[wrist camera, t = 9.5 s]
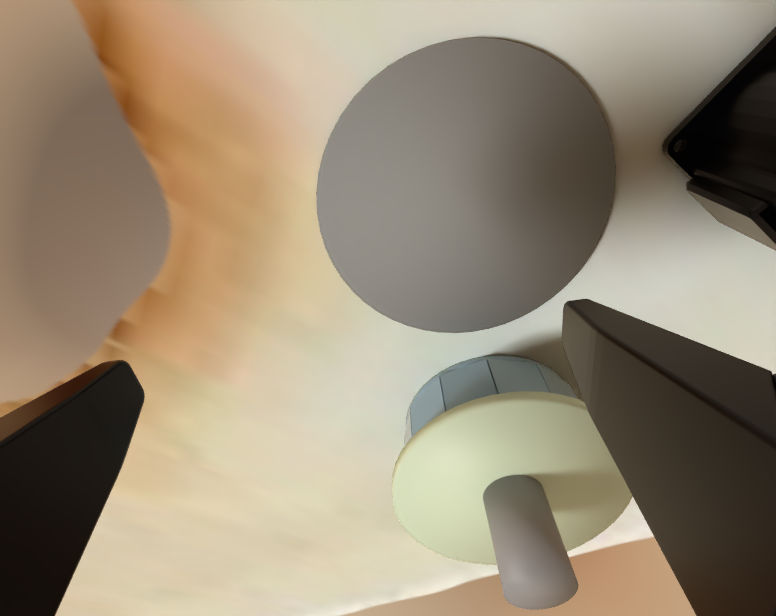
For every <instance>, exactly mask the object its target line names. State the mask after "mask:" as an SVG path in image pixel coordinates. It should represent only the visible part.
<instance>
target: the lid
mask: <svg viewBox="0 0 776 616" xmlns="http://www.w3.org/2000/svg"><path fill="white" fill-rule="evenodd" d="M392 498H393V506H394V510H395V513H396V516H397V518H398V520H399V522H400V523H401V525H402V527H403V528H404V529H405V530H406V532H407V533H408V534H409V535H410V536H411V537H412V538H413V539H415V540H416V541H417V542H418V543H420V544H421V545H423V546H424V547H426V548H428V549H430V550H432V551H433V552H435V553H438V554H440V555H443V556H445V557H448V558H452V559H455V560H459V561H464V562H469V563H476V564H486V565H498V570H499V575H500V579H501V584H502V588H503V593H504V597H505V599H506V600H507V601H508V602H509V603H510V604H512V605H513V606H516V607H518V608H522V609H531V610H539V609H547V608H552V607H555V606H558V605H560V604H563V603H565V602H566V601H568V600H569V599H571V598H572V597H573V596H574V595H575V594H576V592H577V589H578V582H577V579H576V577H575V574H574V571H573V568H572V566H571V563H570V560H569V557H568V555H567V551H569V550H572V549H574V548H576V547H578V546H580V545H582V544H584V543H586V542H588V541H589V540H591V539H593V538H594V537H596V536H597V535H599V534H600V533H602V532H603V531H604V530H606V529H607V528H608V527H609V526H610V525H611V524H612V523H614V522H615V520H616V519H617V518H618V517H619V516H620V515H621V514H622V513H623V511H624V510H625V508H626V507H627V506H628V504H629V502H630V500H631V498H632V494H631V492H630V490H629V488H628V486H627V484H626V483H625V481H624V479H623V477H622V475H621V473H620V471H619V469H618V468H617V466H616V464H615V462H614V460H613V458H612V456H611V454H610V453H609V451H608V449H607V447H606V445H605V443H604V441H603V439H602V438H601V436H600V434H599V432H598V430H597V428H596V426H595V424H594V423H593V421H592V419H591V417H590V415H589V413H588V410H587V408H586V405H585V403H584V402H583V401H581V400H578V399H576V398H573V397H569V396H565V395H561V394H555V393H548V392H535V391H521V392H507V393H501V394H495V395H489V396H486V397H482V398H478V399H474V400H471V401H469V402H466V403H463V404H461V405H458V406H456V407H454V408H452V409H450V410H448V411H446V412H444V413H442V414H440V415H439V416H437V417H436V418H434V419H433V420H431V421H430V422H428V423H427V424H426V425H425V426H423V427H422V428H421V429H420V430H419V431H417V432H416V434H415V435H414V436H413V437H412V438H411V439H410V440H409V441H408V442H407V444H406V445H405V447H404V448H403V450H402V451H401V453H400V455H399V457H398V459H397V461H396V464H395V468H394V472H393V480H392Z"/></svg>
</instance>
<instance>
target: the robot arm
mask: <svg viewBox="0 0 776 616" xmlns="http://www.w3.org/2000/svg"><path fill="white" fill-rule="evenodd" d="M679 140H681V145H680V147H679V148H678V149H677V150H674V145H675V143H676V142H677V141H679ZM662 151H663V153H664V154H665V155H666V156H667V157H668V158H669V159H670V160H671V161H672V162H673V163H674V164H675V165H676V166H677V167H678V168H679V169H680V170H681V171H682V172H683V173H684V174H685V175H686V176H687V177H688V178H689V179H690V180H689V181H688V182H687V191H688V192H689V193H690V194H691V195H692V196H693V197H694V198H695V199H696V200H697V201H698V202H699V203H700V204H701V205H702V206H703V207H704V208H705V209H706V210H707V211H708V212H709V213H710V214H711V215H712V216H713V217H714V218H715V219H716V220H717V221H719V222H720V223H722V224H724V225H726V226H728V227H730V228H732V229H734V230H736V231H738V232H740V233H742V234H744V235H746V236H748V237H750V238H752V239H754V240H756V241H758V242H760V243H762V244H764V245H766V246H768V247H770V248H772V249H774V250H776V27H775V28H774V29H773V30H772V31H771V32H770V33H769V34H768V35H767V36H766V37H765V38H764V40H763V41H762V42H761V43H760V44H759V45H758V46H757V47H756V48H755V49H754V50H753V51H752V52H751V53H750V54H749V55H748V56H747V57H746V58H745V59H744V60H743V61H742V62H741V63H740V64H739V65H738V66H737V67H736V68H735V69H734V70H733V71H732V72H731V73H730V74H729V75H728V76H727V77H726V78H725V79H724V80H723V81H722V82H721V83H720V84H719V85H718V86H717V87H716V88H715V89H714V90H713V91H712V92H711V93H710V94H709V95H708V96H707V97H706V98H705V99H704V100H703V101H702V102H701V103H700V104H699V105H698V106H697V107H696V108H695V109H694V110H693V111H692V112H691V113H690V114H689V115H688V116H687V117H686V118H685V119H684V120H683V121H682V122H681V123H680V124H679V125H678V126H677V127H676V128H675V129H674V130H673V131H672V133H671V134H670V135H669V136H668V137H667V138H666V139H665V141H664V143H663V146H662ZM562 343H563V348H564V351H565V353H566V356H567V359H568V361H569V364H570V366H571V369H572V372H573V374H574V377H575V379H576V382H577V385H578V387H579V390H580V393H581V395H582V398H583V400H584V403H585V405H586V408H587V410H588V413H589V415H590V417H591V419H592V421H593V423H594V424H595V426H596V428H597V430H598V432H599V434H600V436H601V438H602V439H603V441H604V443H605V445H606V447H607V449H608V451H609V453H610V454H611V456H612V458H613V460H614V462H615V464H616V466H617V468H618V469H619V471H620V473H621V475H622V477H623V479H624V481H625V483H626V484H627V486H628V488H629V490H630V492H631V494H632V496H633V498H634V499H635V501H636V503H637V505H638V507H639V509H640V511H641V512H642V514H643V516H644V518H645V520H646V522H647V524H648V526H649V527H650V529H651V531H652V533H653V535H654V537H655V539H656V541H657V542H658V544H659V546H660V548H661V550H662V552H663V554H664V555H665V557H666V559H667V561H668V563H669V565H670V567H671V569H672V571H673V572H674V574H675V576H676V578H677V580H678V582H679V584H680V585H681V587H682V589H683V591H684V593H685V595H686V597H687V599H688V600H689V602H690V604H691V606H692V608H693V610H694V612H695V614H696V615H697V616H776V374H773V375H772V372H771V371H769V370H767V369H764V368H762V367H759V366H756V365H754V364H751V363H749V362H746V361H744V360H741V359H739V358H736V357H734V356H731V355H729V354H726V353H723V352H721V351H718V350H716V349H713V348H711V347H708V346H706V345H703V344H701V343H698V342H695V341H693V340H690V339H688V338H685V337H683V336H680V335H678V334H675V333H673V332H670V331H668V330H665V329H662V328H660V327H657V326H655V325H652V324H650V323H647V322H645V321H642V320H640V319H637V318H635V317H632V316H629V315H627V314H624V313H622V312H619V311H617V310H614V309H612V308H609V307H607V306H604V305H602V304H599V303H597V302H594V301H591V300H589V299H581V300H573V301H568V302H566V303H565V305H564V309H563V325H562ZM143 403H144V390H143V388H142V386H141V384H140V383H139V381H138V379H137V377H136V375H135V373H134V372H133V370H132V368H131V366H130V365H129V364H128V363H127V362H126V361H124V360H116V361H108V362H104V363H101V364H99V365H97V366H95V367H94V368H92V369H90V370H88V371H86V372H84V373H82V374H81V375H79V376H77V377H75V378H73V379H71V380H70V381H68V382H66V383H64V384H62V385H60V386H58V387H57V388H55V389H53V390H51V391H49V392H47V393H45V394H44V395H42V396H40V397H38V398H36V399H34V400H32V401H31V402H29V403H27V404H25V405H23V406H21V407H19V408H18V409H16V410H14V411H12V412H10V413H8V414H6V415H5V416H3V417H1V418H0V616H55V615H56V612H57V610H58V608H59V606H60V603H61V601H62V599H63V597H64V595H65V592H66V590H67V588H68V586H69V584H70V581H71V579H72V577H73V575H74V572H75V570H76V568H77V566H78V564H79V561H80V559H81V557H82V555H83V552H84V550H85V548H86V546H87V544H88V541H89V539H90V537H91V535H92V532H93V530H94V528H95V526H96V524H97V521H98V519H99V517H100V515H101V513H102V510H103V508H104V506H105V504H106V501H107V499H108V497H109V495H110V493H111V490H112V488H113V486H114V484H115V481H116V479H117V477H118V475H119V472H120V470H121V468H122V465H123V462H124V460H125V457H126V454H127V451H128V448H129V445H130V442H131V439H132V436H133V433H134V430H135V427H136V424H137V421H138V418H139V415H140V412H141V409H142V406H143Z"/></svg>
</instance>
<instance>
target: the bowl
mask: <svg viewBox="0 0 776 616" xmlns="http://www.w3.org/2000/svg"><path fill="white" fill-rule="evenodd" d="M521 391H535V392H548V393H555V394H561V395H565V396H569V397H573V398H576V399H578V398H577V396H576V394H575V393H574V391H573V389H572V387H571V386H570V385H569V384H568V383H566V382H565V381H564V380H563V379H562V378H561V377H560V376H559V375H558V374H557V373H556V372H554V371H553V370H552V369H550V368H548V367H547V366H545V365H543V364H541V363H539V362H536V361H533V360H531V359H527V358H523V357H517V356H510V355H493V356H483V357H478V358H473V359H469V360H466V361H463V362H460V363H457V364H455V365H453V366H450V367H449V368H447V369H445V370H443V371H441V372H440V373H438V374H437V375H435V376H434V377H433V378H431V379H430V380H429V381H428V382H427V383H426V384H425V385H424V386H423V387H422V388H421V389H420V390H419V391H418V393H417V394H416V396H415V397H414V399H413V400H412V402H411V405H410V407H409V410H408V414H407V418H406V432H405V438H404V443H405V445H406V444H407V442H408V441H409V440H410V439H411V438H412V437H413V436H414V435H415V434H416V432H417V431H419V430H420V429H421V428H422V427H423V426H425V425H426V424H427V423H428V422H430V421H431V420H433V419H434V418H436V417H437V416H439V415H440V414H442V413H444V412H446V411H448V410H450V409H452V408H454V407H456V406H458V405H461V404H463V403H466V402H469V401H471V400H474V399H478V398H482V397H486V396H489V395H495V394H501V393H507V392H521Z"/></svg>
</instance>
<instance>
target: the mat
mask: <svg viewBox="0 0 776 616" xmlns="http://www.w3.org/2000/svg"><path fill="white" fill-rule="evenodd" d="M614 188H615V160H614V150H613V145H612V141H611V137H610V133H609V129H608V126H607V124H606V121H605V119H604V117H603V114H602V112H601V109H600V108H599V106H598V105H597V103H596V101H595V100H594V98H593V96H592V95H591V93H590V92H589V91H588V89H587V88H586V87H585V86H584V85H583V84H582V82H581V81H580V80H579V79H578V78H577V77H576V76H575V75H574V74H573V73H572V72H571V71H569V70H568V69H567V68H566V67H565V66H563V65H562V64H561V63H560V62H558V61H556V60H555V59H553V58H551V57H550V56H548V55H546V54H545V53H543V52H541V51H539V50H536V49H534V48H531V47H528V46H526V45H523V44H521V43H516V42H512V41H507V40H502V39H494V38H465V39H455V40H450V41H446V42H442V43H438V44H434V45H430V46H427V47H425V48H422V49H420V50H417V51H415V52H413V53H410V54H408V55H406V56H404V57H403V58H401V59H399V60H398V61H396V62H394V63H393V64H391V65H389V66H388V67H386V68H385V69H384V70H383V71H381V72H380V73H379V74H378V75H376V76H375V77H374V78H373V79H371V80H370V81H369V82H368V83H367V84H366V85H365V86H364V87H363V88H362V89H361V90H360V92H359V93H358V94H357V95H356V96H355V97H354V98H353V100H352V101H351V102H350V104H349V105H348V106H347V108H346V109H345V110H344V112H343V113H342V115H341V116H340V118H339V120H338V122H337V124H336V126H335V127H334V129H333V131H332V133H331V135H330V138H329V140H328V143H327V145H326V148H325V151H324V153H323V157H322V161H321V165H320V170H319V174H318V184H317V214H318V220H319V226H320V232H321V235H322V238H323V241H324V244H325V248H326V250H327V252H328V254H329V256H330V259H331V261H332V263H333V265H334V266H335V268H336V270H337V271H338V273H339V274H340V276H341V277H342V279H343V280H344V281H345V282H346V284H347V285H348V286H349V287H350V288H351V290H352V291H353V292H354V293H355V294H356V295H357V296H359V297H360V298H361V299H362V300H363V301H364V302H365V303H366V304H368V305H369V306H371V307H372V308H373V309H375V310H376V311H378V312H379V313H381V314H383V315H385V316H387V317H388V318H390V319H392V320H394V321H397V322H399V323H402V324H404V325H407V326H410V327H414V328H418V329H422V330H427V331H434V332H446V333H460V332H473V331H478V330H484V329H489V328H492V327H496V326H499V325H502V324H506V323H508V322H510V321H513V320H515V319H518V318H520V317H522V316H524V315H526V314H528V313H529V312H531V311H533V310H535V309H537V308H538V307H540V306H541V305H543V304H544V303H545V302H547V301H548V300H550V299H551V298H552V297H554V296H555V295H556V294H557V293H558V292H559V291H561V290H562V289H563V288H564V287H565V286H566V285H567V284H568V283H569V282H570V281H571V280H572V279H573V278H574V276H575V275H576V274H577V273H578V272H579V271H580V269H581V268H582V267H583V265H584V264H585V263H586V261H587V260H588V259H589V257H590V255H591V253H592V252H593V250H594V248H595V247H596V245H597V243H598V241H599V239H600V237H601V234H602V232H603V230H604V228H605V225H606V222H607V219H608V216H609V212H610V209H611V205H612V199H613V193H614Z"/></svg>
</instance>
